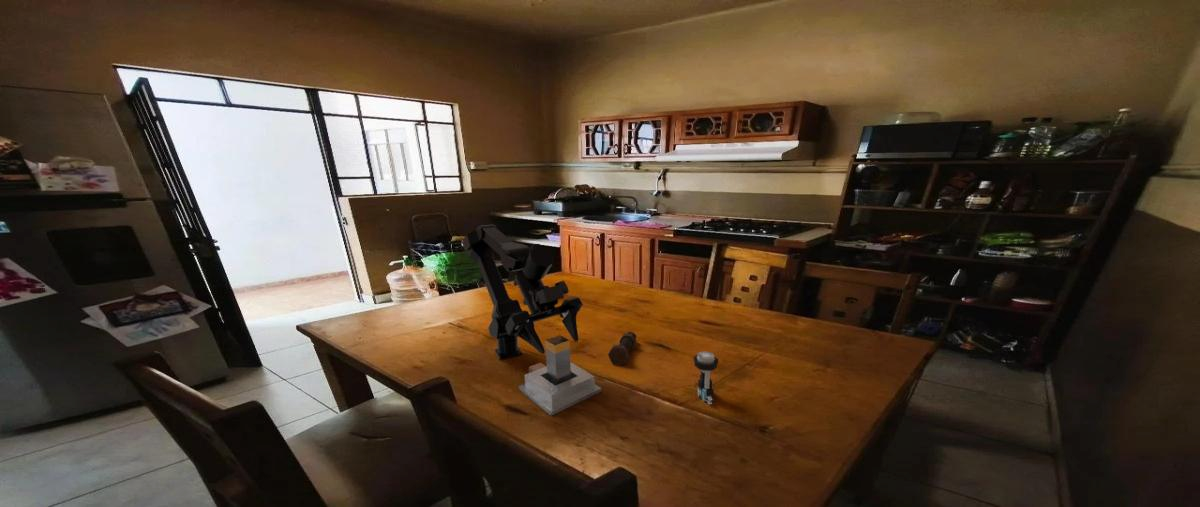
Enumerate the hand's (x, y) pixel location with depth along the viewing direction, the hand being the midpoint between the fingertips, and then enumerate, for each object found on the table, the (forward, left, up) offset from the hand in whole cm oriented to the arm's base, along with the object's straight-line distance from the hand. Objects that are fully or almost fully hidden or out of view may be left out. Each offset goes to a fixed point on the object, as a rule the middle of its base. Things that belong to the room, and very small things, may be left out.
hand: (560, 346), depth 87 cm
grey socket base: (-4, -1, -12) cm, 12 cm away
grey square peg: (-1, 0, -11) cm, 11 cm away
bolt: (-10, +24, -12) cm, 28 cm away
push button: (+19, +27, -12) cm, 35 cm away
